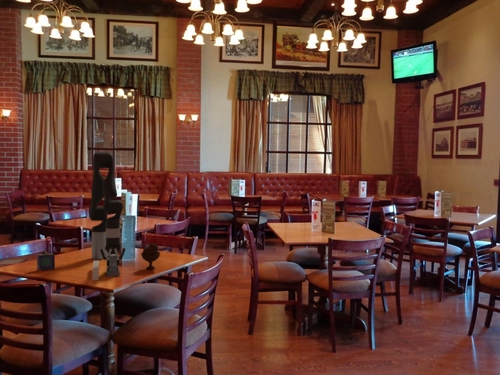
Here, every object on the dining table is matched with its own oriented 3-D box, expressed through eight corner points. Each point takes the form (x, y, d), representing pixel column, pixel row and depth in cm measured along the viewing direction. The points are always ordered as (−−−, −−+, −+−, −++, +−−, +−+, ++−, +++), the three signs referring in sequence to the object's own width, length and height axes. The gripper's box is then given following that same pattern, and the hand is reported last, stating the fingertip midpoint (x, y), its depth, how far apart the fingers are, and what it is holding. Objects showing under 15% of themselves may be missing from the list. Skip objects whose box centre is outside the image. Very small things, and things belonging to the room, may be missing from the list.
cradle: (106, 271, 256) (106, 266, 256) (118, 270, 258) (118, 266, 258) (106, 276, 244) (106, 272, 243) (119, 276, 246) (119, 271, 246)
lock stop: (109, 268, 255) (109, 254, 254) (116, 268, 256) (116, 254, 255) (109, 273, 245) (109, 258, 245) (116, 272, 246) (117, 258, 246)
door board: (93, 269, 259) (93, 260, 259) (98, 269, 260) (98, 260, 259) (92, 280, 236) (92, 270, 236) (98, 280, 237) (98, 270, 237)
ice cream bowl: (151, 265, 271) (152, 241, 270) (163, 268, 264) (164, 243, 263) (137, 268, 263) (137, 243, 262) (149, 272, 256) (149, 246, 255)
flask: (36, 270, 253) (36, 252, 253) (37, 269, 256) (37, 250, 255) (54, 269, 256) (54, 251, 256) (55, 268, 259) (55, 250, 258)
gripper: (125, 234, 255) (125, 264, 256) (99, 235, 251) (99, 265, 252) (126, 236, 248) (126, 267, 249) (99, 237, 244) (99, 268, 245)
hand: (112, 266), depth 250 cm, fingers closed on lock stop, 4 cm apart
